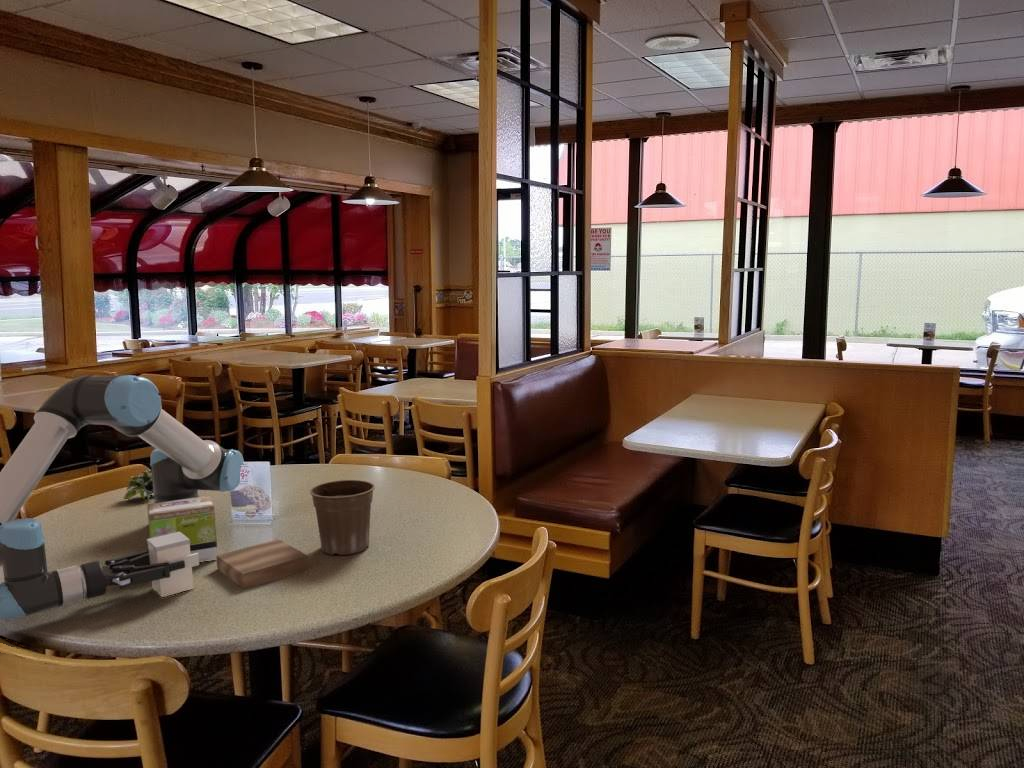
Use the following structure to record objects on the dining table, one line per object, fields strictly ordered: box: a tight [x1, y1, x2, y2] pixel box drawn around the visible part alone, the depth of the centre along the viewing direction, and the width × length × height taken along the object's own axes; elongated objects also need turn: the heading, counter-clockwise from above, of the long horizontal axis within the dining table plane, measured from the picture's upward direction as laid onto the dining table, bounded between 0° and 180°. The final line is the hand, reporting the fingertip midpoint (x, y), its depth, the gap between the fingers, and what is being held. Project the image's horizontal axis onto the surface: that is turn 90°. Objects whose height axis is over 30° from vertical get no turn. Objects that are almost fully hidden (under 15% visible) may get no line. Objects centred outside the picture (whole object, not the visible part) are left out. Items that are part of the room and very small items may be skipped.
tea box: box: [146, 495, 218, 562], centre depth 193 cm, size 15×10×15 cm, turn 117°
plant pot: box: [309, 479, 376, 556], centre depth 198 cm, size 16×16×16 cm
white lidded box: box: [146, 532, 195, 598], centre depth 175 cm, size 7×7×12 cm
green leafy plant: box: [123, 469, 154, 500], centre depth 246 cm, size 11×11×12 cm
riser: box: [216, 538, 309, 590], centre depth 186 cm, size 16×16×4 cm
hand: (192, 554), depth 178 cm, fingers closed on white lidded box, 7 cm apart
